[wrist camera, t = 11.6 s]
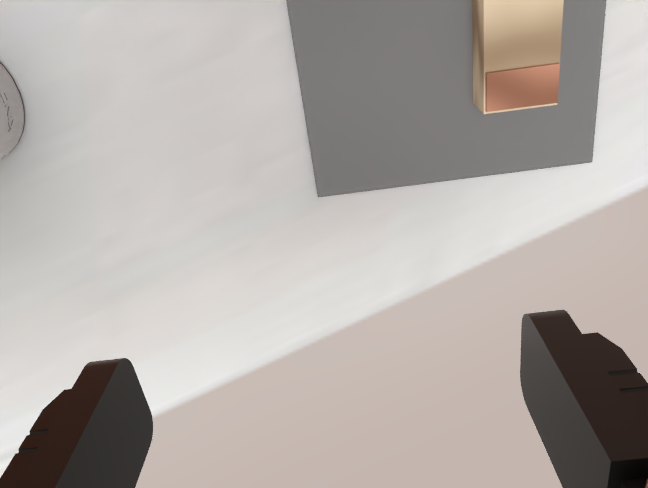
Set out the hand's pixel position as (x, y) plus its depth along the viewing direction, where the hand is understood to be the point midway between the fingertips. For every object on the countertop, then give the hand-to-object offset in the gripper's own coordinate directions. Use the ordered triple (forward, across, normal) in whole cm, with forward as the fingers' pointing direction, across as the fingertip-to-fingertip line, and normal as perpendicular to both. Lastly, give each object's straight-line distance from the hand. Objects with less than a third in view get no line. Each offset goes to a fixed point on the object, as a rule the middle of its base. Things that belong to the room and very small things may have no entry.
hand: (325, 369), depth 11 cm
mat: (+30, -8, +1) cm, 31 cm away
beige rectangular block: (+29, -12, -1) cm, 32 cm away
